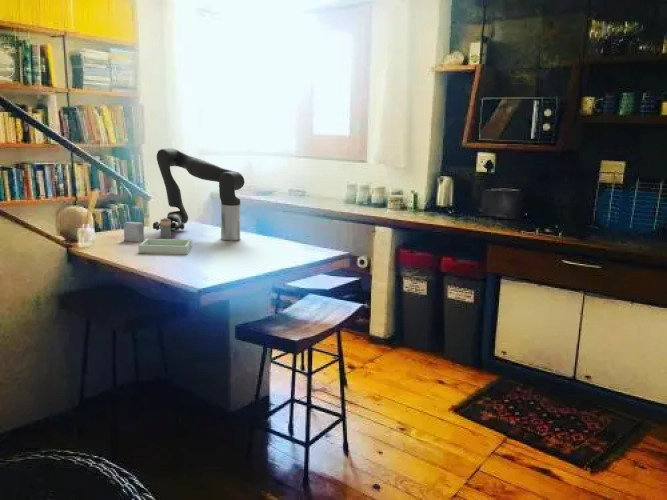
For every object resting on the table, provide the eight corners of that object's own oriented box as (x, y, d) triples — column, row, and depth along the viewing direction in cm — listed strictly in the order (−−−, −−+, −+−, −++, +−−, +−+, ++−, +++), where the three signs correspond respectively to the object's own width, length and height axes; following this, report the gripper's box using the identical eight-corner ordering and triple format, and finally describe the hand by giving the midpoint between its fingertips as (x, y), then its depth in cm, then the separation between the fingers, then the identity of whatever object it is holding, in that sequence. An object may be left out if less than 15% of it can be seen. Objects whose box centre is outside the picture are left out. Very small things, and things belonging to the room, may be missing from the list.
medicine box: (144, 240, 265) (144, 222, 263) (138, 242, 261) (138, 224, 259) (129, 239, 267) (129, 221, 265) (124, 240, 263) (123, 222, 261)
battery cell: (171, 241, 265) (171, 217, 263) (170, 243, 261) (169, 218, 259) (161, 241, 265) (161, 217, 262) (160, 243, 260) (159, 218, 258)
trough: (191, 247, 256) (191, 239, 255) (187, 254, 241) (186, 246, 240) (146, 246, 253) (146, 238, 253) (138, 253, 239) (138, 245, 238)
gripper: (157, 214, 278) (150, 219, 262) (186, 215, 279) (181, 220, 264) (157, 229, 279) (150, 235, 263) (186, 230, 281) (181, 236, 265)
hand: (166, 228), depth 264 cm, fingers open, 8 cm apart
